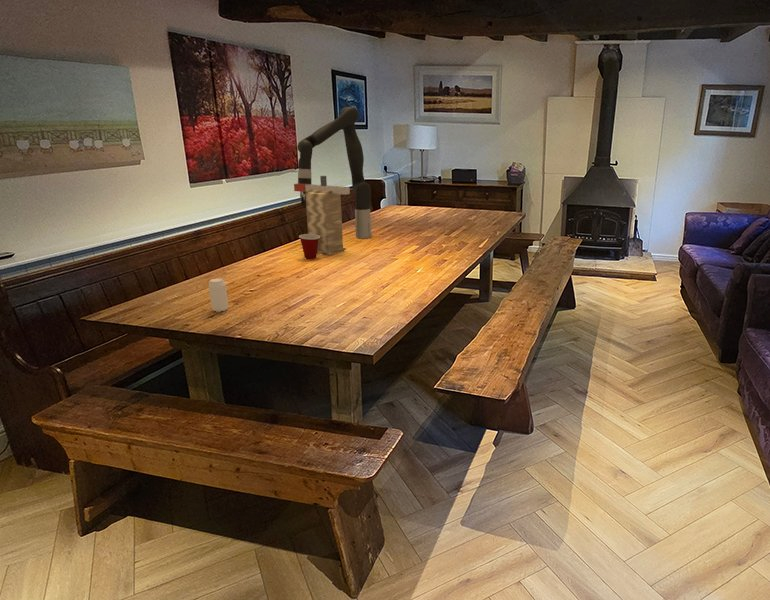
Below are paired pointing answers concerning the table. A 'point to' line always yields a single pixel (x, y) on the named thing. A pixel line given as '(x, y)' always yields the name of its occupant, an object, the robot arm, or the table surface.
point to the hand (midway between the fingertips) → (304, 206)
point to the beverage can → (218, 295)
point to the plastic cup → (309, 245)
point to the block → (322, 187)
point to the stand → (325, 220)
